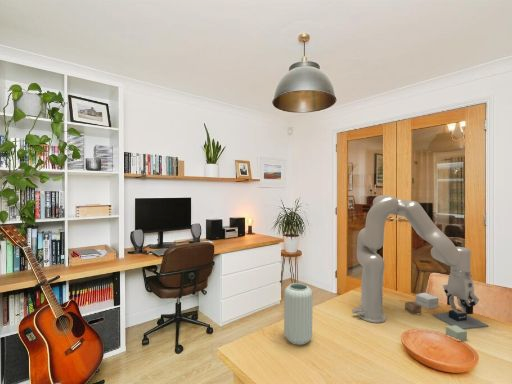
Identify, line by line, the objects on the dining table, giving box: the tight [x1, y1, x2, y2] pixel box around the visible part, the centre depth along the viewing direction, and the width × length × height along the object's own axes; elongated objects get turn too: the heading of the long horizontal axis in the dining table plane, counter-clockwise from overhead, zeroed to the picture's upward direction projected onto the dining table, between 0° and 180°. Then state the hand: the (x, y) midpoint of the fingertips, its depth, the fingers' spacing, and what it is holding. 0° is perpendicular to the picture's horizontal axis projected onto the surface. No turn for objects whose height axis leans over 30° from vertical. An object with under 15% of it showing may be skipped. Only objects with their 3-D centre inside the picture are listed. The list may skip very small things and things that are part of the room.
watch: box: [448, 295, 468, 321], centre depth 128 cm, size 6×8×11 cm
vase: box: [283, 282, 314, 346], centre depth 111 cm, size 12×12×22 cm
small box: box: [414, 292, 439, 310], centre depth 144 cm, size 8×8×5 cm
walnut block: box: [404, 301, 422, 315], centre depth 137 cm, size 5×5×4 cm
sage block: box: [445, 325, 468, 342], centre depth 113 cm, size 5×5×4 cm
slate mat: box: [432, 311, 489, 330], centre depth 128 cm, size 16×14×1 cm
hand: (459, 309), depth 128 cm, fingers open, 9 cm apart
